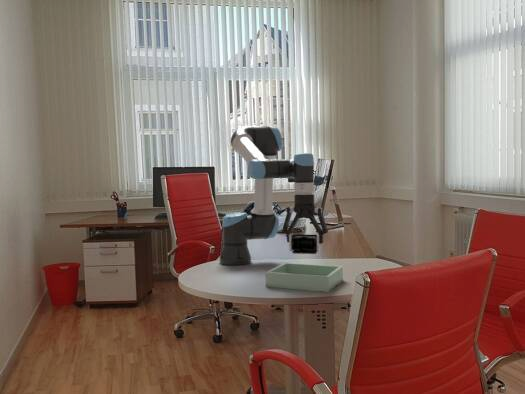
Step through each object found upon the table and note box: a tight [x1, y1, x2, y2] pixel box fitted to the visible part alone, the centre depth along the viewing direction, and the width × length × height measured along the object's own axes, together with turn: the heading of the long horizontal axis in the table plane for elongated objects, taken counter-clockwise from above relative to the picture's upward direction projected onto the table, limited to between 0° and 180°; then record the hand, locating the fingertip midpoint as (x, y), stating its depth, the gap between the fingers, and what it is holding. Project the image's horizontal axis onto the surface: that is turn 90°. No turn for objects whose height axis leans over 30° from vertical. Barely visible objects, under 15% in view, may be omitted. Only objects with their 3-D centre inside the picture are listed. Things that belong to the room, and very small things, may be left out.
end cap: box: [291, 233, 318, 255], centre depth 194 cm, size 10×7×7 cm
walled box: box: [265, 262, 344, 293], centre depth 195 cm, size 24×20×6 cm
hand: (305, 251), depth 194 cm, fingers closed on end cap, 10 cm apart
